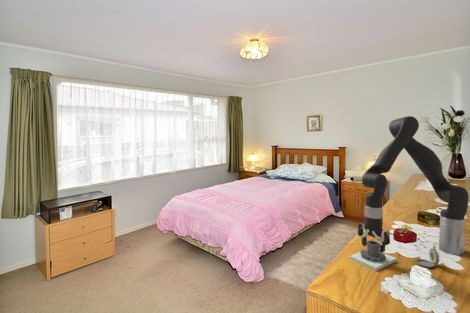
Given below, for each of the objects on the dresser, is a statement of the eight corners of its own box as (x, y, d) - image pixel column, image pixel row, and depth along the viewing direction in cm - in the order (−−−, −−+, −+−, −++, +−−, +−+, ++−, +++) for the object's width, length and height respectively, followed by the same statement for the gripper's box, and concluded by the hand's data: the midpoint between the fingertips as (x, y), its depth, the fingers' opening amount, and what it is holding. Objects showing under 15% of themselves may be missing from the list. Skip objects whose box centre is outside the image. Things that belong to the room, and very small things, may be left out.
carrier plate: (396, 261, 121) (396, 248, 120) (375, 271, 113) (376, 257, 112) (370, 250, 132) (370, 239, 131) (349, 258, 124) (349, 247, 124)
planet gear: (390, 258, 120) (390, 244, 120) (376, 264, 115) (377, 249, 115) (369, 250, 129) (369, 236, 129) (356, 255, 124) (356, 241, 124)
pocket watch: (412, 262, 119) (413, 242, 118) (424, 259, 122) (425, 238, 121) (431, 271, 111) (432, 249, 110) (443, 267, 114) (444, 245, 113)
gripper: (393, 218, 116) (392, 252, 118) (364, 210, 128) (363, 241, 130) (384, 221, 112) (383, 256, 114) (354, 213, 125) (354, 245, 126)
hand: (372, 248), depth 122 cm, fingers open, 8 cm apart
